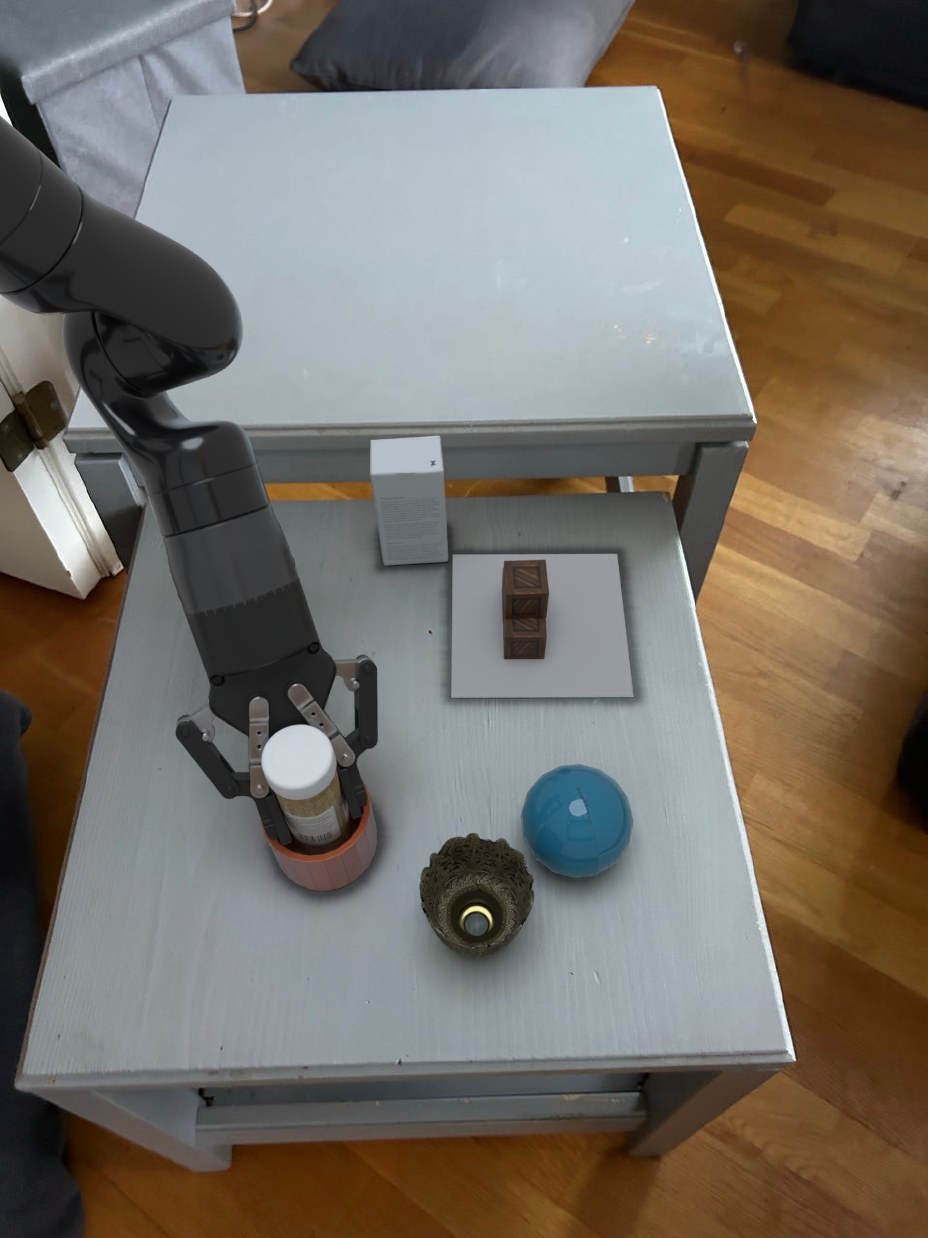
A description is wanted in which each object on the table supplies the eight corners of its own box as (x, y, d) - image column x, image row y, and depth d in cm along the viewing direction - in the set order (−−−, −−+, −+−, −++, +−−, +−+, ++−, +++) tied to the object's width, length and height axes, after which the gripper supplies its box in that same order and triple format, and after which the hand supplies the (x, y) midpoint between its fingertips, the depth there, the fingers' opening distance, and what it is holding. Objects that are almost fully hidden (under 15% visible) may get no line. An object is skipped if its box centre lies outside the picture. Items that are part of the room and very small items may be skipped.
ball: (601, 779, 74) (613, 731, 67) (642, 875, 69) (660, 833, 63) (503, 808, 72) (506, 762, 66) (539, 908, 68) (547, 869, 61)
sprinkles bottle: (363, 814, 71) (343, 731, 60) (342, 871, 69) (318, 796, 57) (306, 799, 72) (275, 714, 61) (284, 855, 69) (248, 778, 58)
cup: (412, 963, 66) (405, 929, 59) (438, 863, 70) (435, 821, 63) (516, 990, 65) (521, 958, 58) (537, 887, 69) (544, 846, 62)
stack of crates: (633, 697, 78) (646, 652, 72) (451, 698, 78) (449, 653, 72) (617, 554, 86) (627, 504, 81) (452, 554, 86) (451, 504, 81)
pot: (292, 907, 68) (278, 878, 63) (264, 815, 72) (248, 782, 67) (391, 868, 70) (385, 837, 65) (358, 780, 74) (350, 745, 69)
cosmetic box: (446, 527, 88) (442, 433, 78) (448, 563, 86) (445, 471, 76) (381, 530, 88) (369, 437, 78) (381, 567, 86) (369, 475, 76)
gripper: (124, 633, 55) (219, 889, 59) (355, 560, 58) (432, 808, 62) (133, 615, 63) (218, 844, 66) (338, 550, 66) (409, 773, 69)
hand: (321, 825), depth 64 cm, fingers closed on sprinkles bottle, 4 cm apart
